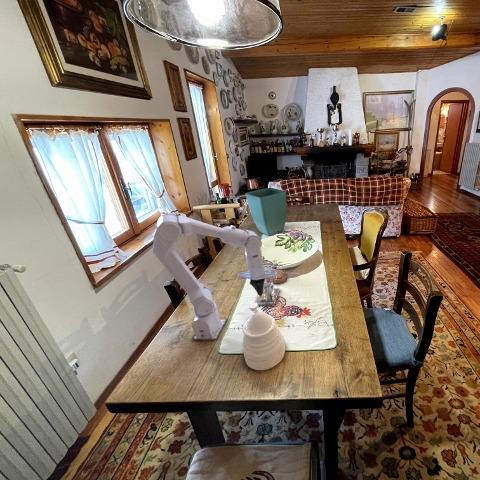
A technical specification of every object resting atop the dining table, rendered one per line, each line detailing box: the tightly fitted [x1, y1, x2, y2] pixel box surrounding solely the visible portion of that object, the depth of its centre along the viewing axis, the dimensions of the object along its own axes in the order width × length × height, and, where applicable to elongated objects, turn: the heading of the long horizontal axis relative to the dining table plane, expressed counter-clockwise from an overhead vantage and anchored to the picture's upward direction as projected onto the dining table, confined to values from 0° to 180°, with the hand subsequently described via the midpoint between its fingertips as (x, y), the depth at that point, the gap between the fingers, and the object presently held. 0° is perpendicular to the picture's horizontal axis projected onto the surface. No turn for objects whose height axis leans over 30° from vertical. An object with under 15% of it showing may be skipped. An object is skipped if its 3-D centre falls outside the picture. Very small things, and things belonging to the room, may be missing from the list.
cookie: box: [265, 269, 288, 285], centre depth 122 cm, size 10×11×3 cm
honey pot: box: [241, 302, 286, 371], centre depth 78 cm, size 13×13×18 cm
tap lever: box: [257, 282, 270, 300], centre depth 103 cm, size 11×3×3 cm, turn 177°
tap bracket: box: [255, 281, 280, 306], centre depth 107 cm, size 10×8×7 cm
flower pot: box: [244, 187, 288, 237], centre depth 173 cm, size 20×20×28 cm
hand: (260, 293), depth 98 cm, fingers closed, pressing on tap lever
